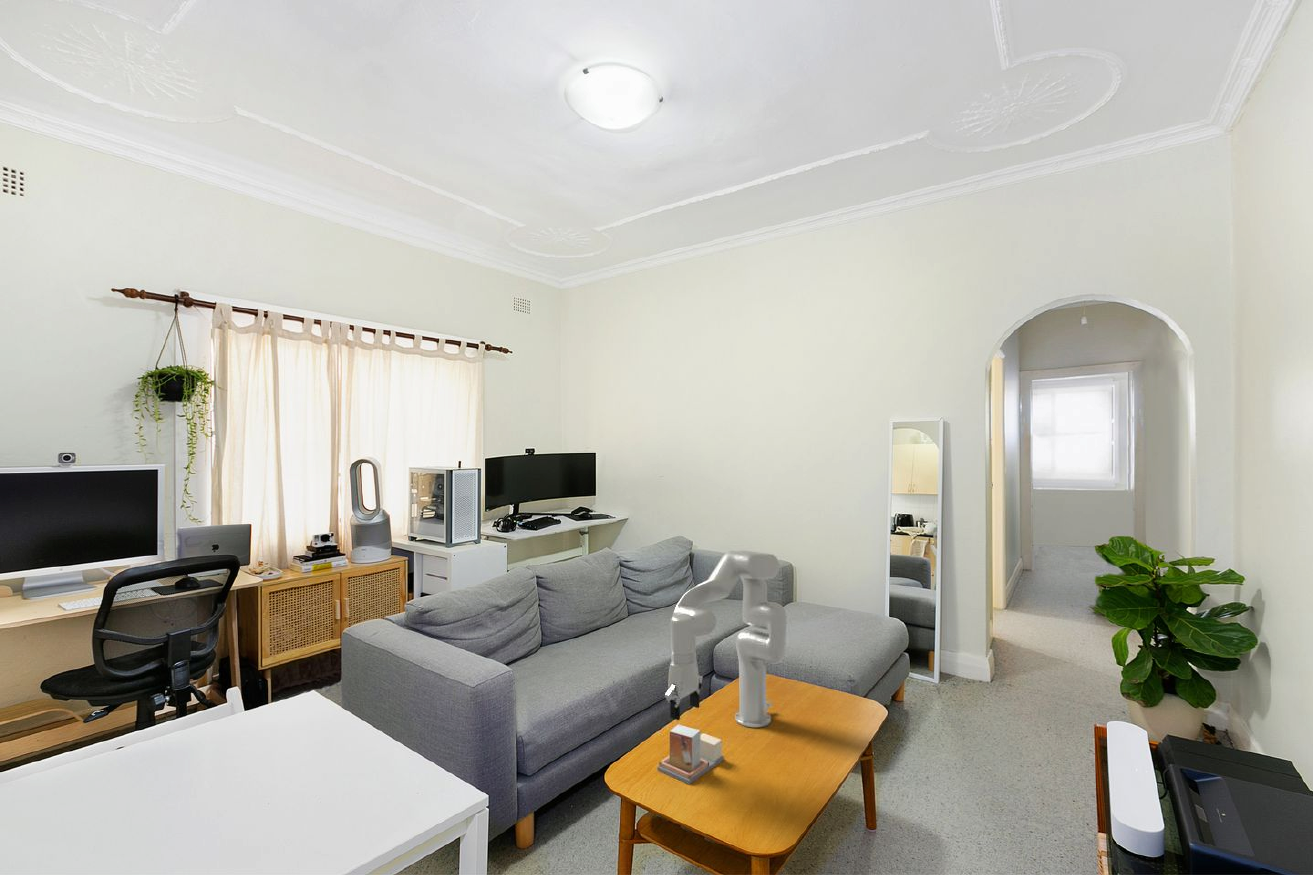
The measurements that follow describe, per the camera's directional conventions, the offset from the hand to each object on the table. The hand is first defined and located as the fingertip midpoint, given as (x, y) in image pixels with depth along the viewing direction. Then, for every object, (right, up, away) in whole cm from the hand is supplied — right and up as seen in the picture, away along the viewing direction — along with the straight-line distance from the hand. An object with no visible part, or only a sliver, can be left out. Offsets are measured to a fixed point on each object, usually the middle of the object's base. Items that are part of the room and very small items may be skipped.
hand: (685, 712), depth 179 cm
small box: (0, -16, -1) cm, 16 cm away
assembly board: (+2, -17, +2) cm, 17 cm away
